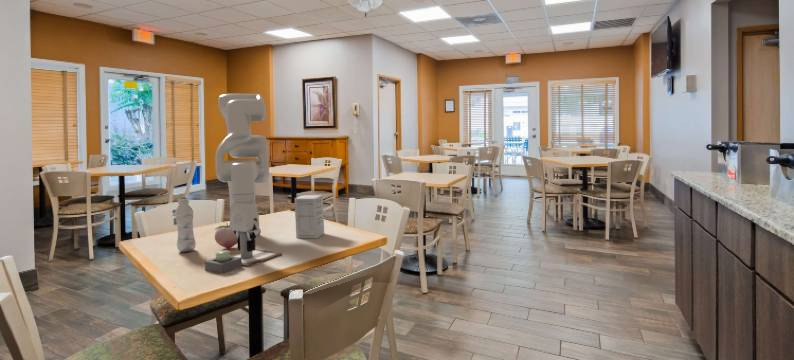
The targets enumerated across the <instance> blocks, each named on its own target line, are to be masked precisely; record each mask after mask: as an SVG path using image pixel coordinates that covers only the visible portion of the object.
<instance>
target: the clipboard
mask: <svg viewBox="0 0 794 360" xmlns="http://www.w3.org/2000/svg"><path fill="white" fill-rule="evenodd" d="M282 254H283V253H281V252H275V251H273V250H270V249H264V248H261V249H257V248H255V250H254V251H253V257H252V258H250V259H241V260H242V268H243V267H245V268H249V267H251V266H255V265H259V264H261V263H263V262H266V261H269V260H272V259H275V258H277V257H281V256H282ZM232 256H233V257H238V258H241V252H238V253H236V254H233V255H232Z"/></svg>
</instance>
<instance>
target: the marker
mask: <svg viewBox="0 0 794 360" xmlns="http://www.w3.org/2000/svg"><path fill="white" fill-rule="evenodd" d="M239 234H240V250H239V251H240V252H239V253H241V259H250V258H252V257H253V251H250V252H248V251H247V240H248V237H247V232H240V231H239ZM250 234H252V232H251V233H250Z"/></svg>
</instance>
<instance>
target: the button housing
mask: <svg viewBox="0 0 794 360" xmlns="http://www.w3.org/2000/svg"><path fill="white" fill-rule="evenodd" d="M240 268H243V266H242V260H241V258H238V257H233V255H230V260H228V261H223V262H218V261H216V257H215V258H211V259H207V260H205V261H204V269H205V271H207V270H208V271H207V272H211V271H212V273H216V272H217V274H220V275H221V274H222V275H223V274H225V273H228V272H231V271H234V270H237V269H240Z"/></svg>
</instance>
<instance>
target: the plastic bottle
mask: <svg viewBox="0 0 794 360" xmlns="http://www.w3.org/2000/svg"><path fill="white" fill-rule="evenodd" d="M177 204H178V206H177V207H176V209H175V212H174V217H175V221H176V227H177V240H176V241H177V242H176V247H177V250H178V252H183V253H184V252H186V253H189V252H192V251H194V250H195V249H196V246H197V243H196V238H195V235H194V223H193V221H194V209H193V208H192V207H191V206H190V205H189V204H190V202H189V198H188V197H181V198H180V197H179V198H177Z"/></svg>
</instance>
